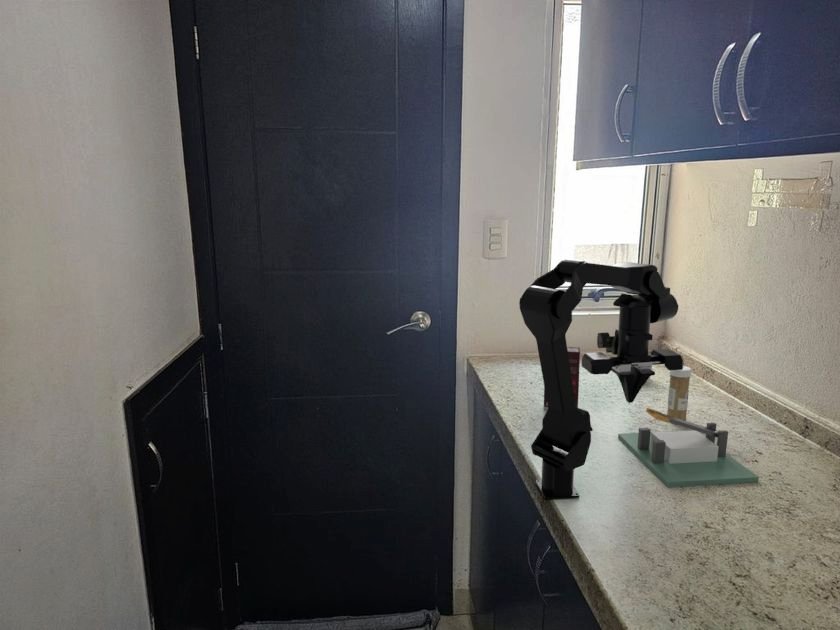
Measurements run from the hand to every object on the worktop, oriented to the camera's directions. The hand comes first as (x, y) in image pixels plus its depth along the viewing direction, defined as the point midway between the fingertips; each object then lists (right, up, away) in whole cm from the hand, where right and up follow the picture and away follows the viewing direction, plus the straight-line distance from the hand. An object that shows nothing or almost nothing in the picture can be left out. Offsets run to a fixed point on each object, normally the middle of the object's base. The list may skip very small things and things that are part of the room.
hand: (629, 402), depth 116 cm
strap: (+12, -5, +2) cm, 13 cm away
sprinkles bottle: (+20, -8, +23) cm, 31 cm away
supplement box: (-6, -7, +31) cm, 33 cm away
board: (+12, -12, +4) cm, 18 cm away
